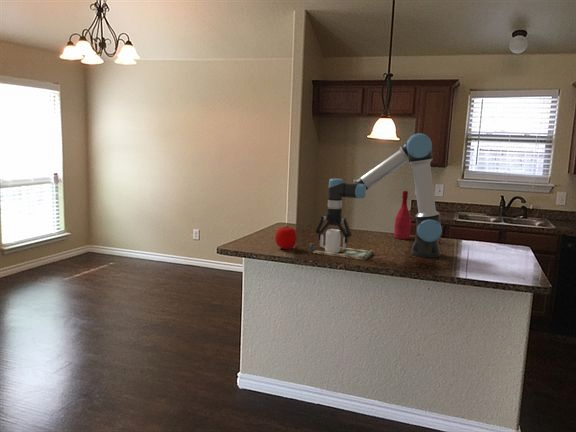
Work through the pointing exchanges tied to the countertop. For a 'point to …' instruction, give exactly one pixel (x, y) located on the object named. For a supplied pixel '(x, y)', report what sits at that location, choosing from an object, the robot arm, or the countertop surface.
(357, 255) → the bay
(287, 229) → the tomato
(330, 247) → the beverage can
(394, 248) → the countertop surface
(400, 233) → the wine bottle
